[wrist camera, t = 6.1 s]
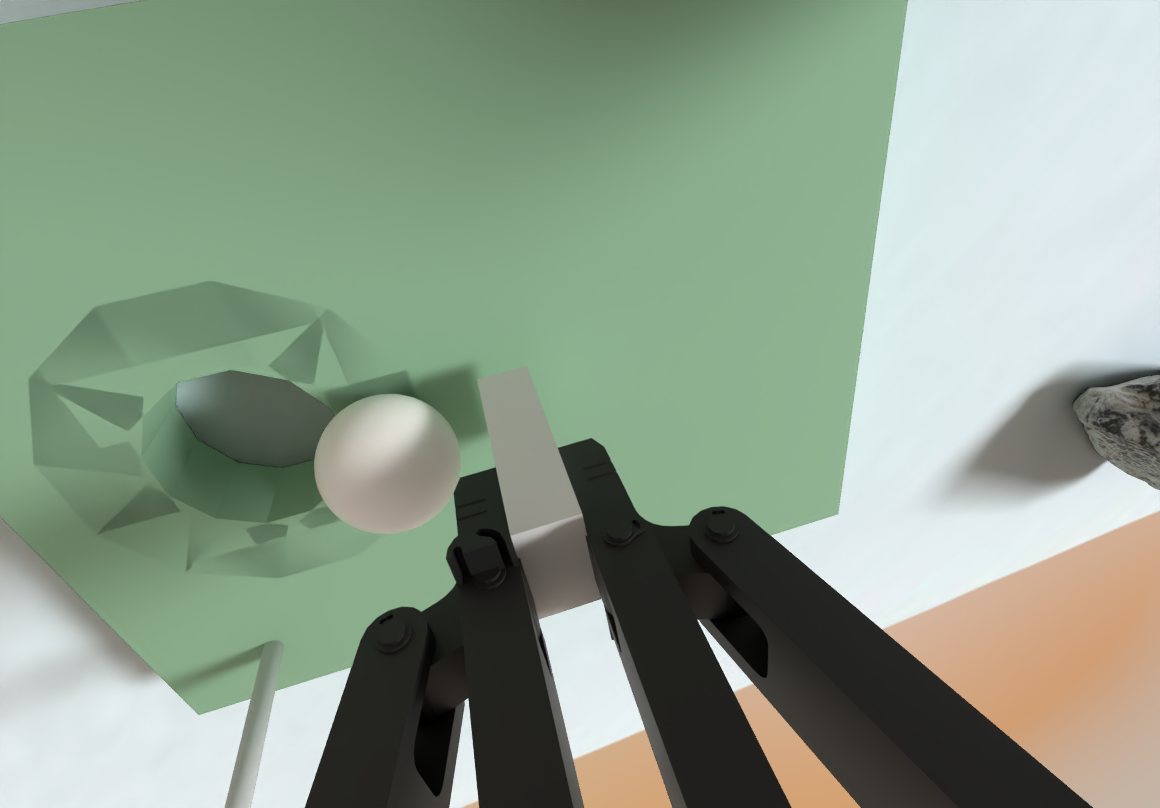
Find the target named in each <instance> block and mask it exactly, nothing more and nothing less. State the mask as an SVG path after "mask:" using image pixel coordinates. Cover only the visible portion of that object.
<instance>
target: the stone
mask: <svg viewBox="0 0 1160 808" xmlns="http://www.w3.org/2000/svg"><path fill="white" fill-rule="evenodd" d="M1073 410H1074V411H1075V412H1076V413H1077V416H1078V418H1079V421H1081V422H1082V423H1083V424H1084V430H1085V431H1086V432H1087V434H1088V435H1089V440H1090V441H1091V442H1092V444H1093V446H1094V448H1095V449H1096V451H1097V452H1098V453H1099V454H1100V455H1101V456H1103V457H1104V458H1105V459H1107V460H1108V461H1109V462H1111V463H1112V464H1113V465H1114V466H1116V467H1118V468H1119V469H1121V470H1122V471H1124V472H1125V473H1127V474H1129V475H1131V476H1134V477H1136V478H1138V479H1141V480H1143V481H1145V482H1147V483H1148V484H1149V485H1150V486H1152V487H1153V488H1155V489H1158V490H1160V375H1153V376H1146V377H1141V378H1139V379H1134V380H1131V381H1128V382H1125V383H1121V384H1117V385H1113V386H1109V387H1093V388H1089V389H1087V390H1086V391H1085V392H1084V393H1083V394H1081V395H1080V396H1079V397H1078V398H1077V399H1076V401H1075V402H1074V404H1073Z"/></svg>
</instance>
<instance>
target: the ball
mask: <svg viewBox="0 0 1160 808" xmlns="http://www.w3.org/2000/svg"><path fill="white" fill-rule="evenodd" d="M460 470H461V453H460V448H459V444H458V440H457V438H456V435H455V433H454V431H453V429H452V427H451V426H450V424H449V423H448V422H447V420H446V419H445V418H444V417H443V416H442V415H441V414H440V413H439V412H438V411H437V410H436V409H434V408H433V407H432V406H430V405H428V404H427V403H425V402H423V401H421V400H419V399H416V398H414V397H410V396H405V395H401V394H379V395H374V396H370V397H366V398H363V399H361V400H359V401H356V402H354V403H352V404H351V405H349V406H347V407H346V408H344V409H343V410H342V411H340V412H339V413H338V414H337V415H336V416H335V417H334V418H333V419H332V420H331V421H330V423H329V424H328V425H327V427H326V428H325V430H324V431H323V433H322V435H321V437H320V440H319V442H318V445H317V448H316V453H315V458H314V472H315V480H316V484H317V487H318V490H319V492H320V495H321V497H322V499H323V500H324V502H325V503H326V505H327V506H328V507H329V509H330V510H331V511H332V512H333V513H334V514H335V515H336V516H337V517H338V518H340V519H341V520H342V521H344V522H345V523H347V524H349V525H351V526H353V527H355V528H356V529H359V530H362V531H366V532H370V533H376V534H395V533H400V532H405V531H409V530H411V529H414V528H417V527H419V526H421V525H423V524H424V523H426V522H428V521H429V520H430V519H432V518H433V517H434V516H436V515H437V514H438V513H439V512H440V511H441V510H442V509H443V508H444V507H445V505H446V504H447V503H448V501H449V500H450V498H451V497H452V495H453V493H454V491H455V488H456V486H457V483H458V480H459V476H460Z"/></svg>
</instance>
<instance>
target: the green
mask: <svg viewBox="0 0 1160 808" xmlns="http://www.w3.org/2000/svg"><path fill="white" fill-rule="evenodd" d="M907 2H908V0H143V1H137V2H131V3H125V4H119V5H113V6H107V7H101V8H95V9H89V10H83V11H77V12H71V13H65V14H59V15H53V16H47V17H41V18H35V19H29V20H23V21H17V22H11V23H5V24H0V517H1V518H2V519H3V520H4V521H5V522H6V523H7V524H8V525H9V526H10V527H11V528H12V529H13V530H14V531H15V532H16V533H17V534H18V535H19V536H20V537H21V538H22V539H23V540H24V541H25V542H26V543H27V544H28V545H29V546H30V547H31V548H32V549H33V550H34V551H35V552H36V553H37V554H38V555H39V556H40V557H41V558H42V559H43V560H44V561H45V562H46V563H47V564H48V565H49V566H50V567H51V568H52V569H53V570H54V571H55V572H56V573H57V574H58V575H59V576H60V577H61V578H62V579H63V580H64V581H65V582H66V583H67V584H68V585H69V586H70V587H71V588H72V589H73V590H74V591H75V592H76V593H77V594H78V595H79V596H80V597H81V598H82V599H83V600H84V601H85V602H86V603H87V604H88V605H89V606H90V607H91V608H92V609H93V610H94V611H95V612H96V613H97V614H98V615H99V616H100V617H101V618H102V619H103V620H104V621H105V622H106V623H107V624H108V625H109V626H110V627H111V628H112V629H113V630H114V631H115V632H116V633H117V634H118V635H119V636H120V637H121V638H122V639H123V640H124V641H125V642H126V643H127V644H128V645H129V646H130V647H131V648H132V649H133V650H134V651H135V652H136V653H137V654H138V655H139V656H140V657H141V658H142V659H143V660H144V661H145V662H146V663H147V664H148V665H149V666H150V667H151V668H152V669H153V670H154V671H155V672H156V673H157V674H158V675H159V676H160V677H161V678H162V679H163V680H164V681H165V682H166V683H167V684H168V685H169V686H170V687H171V688H172V689H173V690H174V691H175V692H176V693H177V694H178V695H179V696H180V697H181V698H182V699H183V700H184V701H185V702H186V703H187V704H188V705H189V706H190V707H191V708H192V709H193V710H194V711H195V712H196V713H197V714H198V715H200V714H204V713H207V712H210V711H213V710H216V709H219V708H223V707H226V706H229V705H232V704H235V703H239V702H242V701H245V700H248V699H251V701H250V705H249V709H248V713H247V717H246V721H245V726H244V730H243V734H242V738H241V742H240V746H239V750H238V755H237V759H236V763H235V767H234V771H233V775H232V780H231V784H230V788H229V792H228V796H227V800H226V804H225V808H251V804H252V799H253V794H254V789H255V785H256V780H257V775H258V770H259V765H260V760H261V756H262V751H263V746H264V741H265V736H266V731H267V727H268V722H269V717H270V712H271V707H272V702H273V698H274V693H275V691H277V690H280V689H283V688H286V687H290V686H293V685H296V684H299V683H302V682H305V681H309V680H312V679H315V678H318V677H321V676H325V675H328V674H331V673H334V672H337V671H340V670H344V669H347V668H350V667H352V664H353V661H354V658H355V655H356V652H357V649H358V646H359V643H360V640H361V638H362V636H363V634H364V633H365V631H366V629H367V627H368V626H369V625H370V624H371V623H372V622H373V621H374V620H375V619H376V618H377V617H379V616H380V615H382V614H384V613H385V612H387V611H389V610H391V609H395V608H398V607H414V608H416V609H418V610H419V611H421V612H422V611H424V610H425V609H427V608H428V607H430V606H432V605H433V604H435V603H436V602H438V601H439V600H441V599H442V598H443V597H445V596H446V595H447V594H448V593H449V592H450V591H451V590H452V589H453V587H454V586H455V584H456V581H455V579H454V576H453V574H452V572H451V570H450V567H449V565H448V563H447V560H446V554H447V549H448V547H449V546H450V544H451V542H452V541H453V539H454V538H456V537H457V536H458V531H457V520H456V512H455V510H456V509H455V503H454V493H453V495H452V497H451V498H450V500H449V501H448V503H447V504H446V505H445V507H444V508H443V509H442V510H441V511H440V512H439V513H438V514H437V515H436V516H434V517H433V518H432V519H430V520H429V521H428V522H426V523H424V524H423V525H421V526H419V527H417V528H414V529H411V530H409V531H405V532H400V533H395V534H376V533H370V532H366V531H362V530H359V529H356V528H355V527H353V526H351V525H349V524H347V523H345V522H344V521H342V520H341V519H340V518H338V517H337V516H336V515H335V514H334V513H333V512H332V511H331V510H330V509H329V507H328V506H327V505H326V503H325V502H324V500H323V499H322V497H321V495H320V492H319V490H318V487H317V484H316V480H315V472H314V460H311V461H307V462H303V463H300V464H296V465H292V466H289V467H285V468H278V467H270V466H262V465H254V464H246V463H238V462H236V461H234V460H233V459H231V458H229V457H227V456H225V455H224V454H222V453H220V452H218V451H216V450H215V449H213V448H211V447H209V446H208V445H206V444H204V443H202V442H200V441H199V440H198V439H197V438H196V436H195V435H194V433H193V432H192V430H191V429H190V427H189V426H188V424H187V423H186V421H185V419H184V418H183V416H182V415H181V413H180V412H179V410H178V409H177V407H176V406H175V404H176V389H177V383H179V382H183V381H187V380H192V379H196V378H200V377H204V376H208V375H212V374H216V373H220V372H224V371H228V370H234V371H240V372H245V373H251V374H257V375H262V376H268V377H273V378H279V379H284V380H289V381H290V382H292V383H293V384H295V385H296V386H298V387H299V388H301V389H302V390H304V391H305V392H307V393H308V394H310V395H311V396H313V397H314V398H316V399H317V400H318V401H320V402H321V403H323V404H324V405H326V406H327V407H329V408H330V409H332V411H333V413H334V415H335V416H336V415H337V414H338V413H339V412H340V411H342V410H343V409H344V408H346V407H347V406H349V405H351V404H352V403H354V402H356V401H359V400H361V399H363V398H366V397H370V396H374V395H379V394H401V395H405V396H410V397H414V398H416V399H419V400H421V401H423V402H425V403H427V404H428V405H430V406H432V407H433V408H434V409H436V410H437V411H438V412H439V413H440V414H441V415H442V416H443V417H444V418H445V419H446V420H447V422H448V423H449V424H450V426H451V427H452V429H453V431H454V433H455V435H456V438H457V440H458V444H459V448H460V453H461V470H460V476H459V479H460V477H464V476H467V475H471V474H474V473H478V472H481V471H484V470H488V469H491V468H495V467H496V466H495V461H494V456H493V452H492V447H491V442H490V437H489V433H488V428H487V423H486V419H485V414H484V409H483V404H482V400H481V395H480V390H479V386H478V381H477V379H480V378H484V377H487V376H491V375H495V374H498V373H502V372H506V371H509V370H513V369H517V368H520V367H524V366H527V368H528V371H529V374H530V376H531V379H532V382H533V384H534V387H535V389H536V392H537V395H538V397H539V400H540V403H541V405H542V408H543V411H544V413H545V416H546V419H547V421H548V424H549V427H550V429H551V432H552V435H553V437H554V440H555V443H556V445H557V448H559V447H562V446H565V445H569V444H572V443H576V442H579V441H582V440H586V439H589V438H592V439H594V440H595V441H597V442H598V443H600V444H601V445H602V446H604V447H605V449H606V451H607V453H608V455H609V457H610V459H611V462H612V463H613V465H614V467H615V469H616V472H617V473H618V475H619V477H620V479H621V481H622V483H623V485H624V487H625V489H626V491H627V493H628V495H629V497H630V499H631V501H632V503H633V506H634V508H635V509H636V511H637V512H638V514H639V515H640V516H641V517H643V518H644V519H645V520H647V521H649V522H651V523H653V524H657V525H662V526H685V525H689V524H690V522H691V520H692V518H693V517H694V516H695V515H696V514H697V513H699V512H700V511H701V510H704V509H707V508H710V507H718V506H725V507H730V508H734V509H737V510H739V511H740V512H742V513H744V514H745V515H747V516H748V517H749V518H750V519H752V520H753V521H754V522H755V523H756V524H757V525H759V526H760V527H761V528H762V529H763V530H765V531H766V532H767V533H768V534H769V535H773V534H777V533H780V532H783V531H786V530H789V529H792V528H796V527H799V526H802V525H805V524H808V523H812V522H815V521H818V520H821V519H824V518H827V517H831V516H834V515H837V514H838V511H839V504H840V496H841V489H842V482H843V474H844V467H845V460H846V452H847V445H848V437H849V430H850V423H851V415H852V408H853V401H854V393H855V386H856V378H857V371H858V364H859V356H860V349H861V342H862V334H863V327H864V319H865V312H866V305H867V297H868V290H869V283H870V275H871V268H872V260H873V253H874V246H875V238H876V231H877V224H878V216H879V209H880V201H881V194H882V187H883V179H884V172H885V165H886V157H887V150H888V142H889V135H890V128H891V120H892V113H893V106H894V98H895V91H896V83H897V76H898V69H899V61H900V54H901V47H902V39H903V32H904V24H905V17H906V10H907ZM458 481H459V480H458ZM457 484H458V483H457Z"/></svg>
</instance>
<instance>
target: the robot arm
mask: <svg viewBox="0 0 1160 808" xmlns="http://www.w3.org/2000/svg"><path fill="white" fill-rule="evenodd" d="M477 381H478V386H479V390H480V395H481V400H482V404H483V409H484V414H485V419H486V423H487V428H488V433H489V437H490V442H491V447H492V452H493V456H494V461H495V466H496V467H495V468H491V469H488V470H484V471H481V472H478V473H474V474H471V475H467V476H464V477H460V479H459V481H458V484H457V486H456V488H455V491H454V503H455V509H456V510H455V512H456V520H457V531H458V536H457V537H456V538H454V539H453V541H452V542H451V544H450V546H449V547H448V549H447V554H446V560H447V563H448V565H449V567H450V570H451V572H452V574H453V576H454V579H455V581H456V584H455V586H454V587H453V589H452V590H451V591H450V592H449V593H448V594H447V595H446V596H445V597H443V598H442V599H441V600H439V601H438V602H436V603H435V604H433V605H432V606H430V607H428V608H427V609H425V610H424V611H422V612H421V611H419V610H418V609H416V608H414V607H398V608H395V609H391V610H389V611H387V612H385V613H384V614H382V615H380V616H379V617H377V618H376V619H375V620H374V621H373V622H372V623H371V624H370V625H369V626H368V627H367V629H366V631H365V633H364V634H363V636H362V638H361V640H360V643H359V646H358V649H357V652H356V655H355V658H354V661H353V664H352V667H351V671H350V674H349V677H348V680H347V683H346V686H345V689H344V692H343V695H342V698H341V701H340V704H339V707H338V710H337V713H336V716H335V719H334V722H333V725H332V728H331V731H330V734H329V737H328V740H327V743H326V746H325V749H324V752H323V755H322V758H321V761H320V764H319V767H318V770H317V773H316V776H315V779H314V782H313V785H312V788H311V791H310V794H309V797H308V800H307V803H306V806H305V808H449V805H450V798H451V792H452V785H453V778H454V772H455V765H456V758H457V752H458V745H459V738H460V732H461V725H462V719H463V712H464V705H465V702H464V701H465V700H466V699H468V698H469V708H470V718H471V728H472V738H473V749H474V759H475V769H476V779H477V789H478V800H479V808H584V805H583V800H582V796H581V792H580V788H579V783H578V780H577V775H576V771H575V766H574V762H573V758H572V754H571V750H570V745H569V741H568V737H567V733H566V728H565V724H564V720H563V716H562V711H561V707H560V703H559V699H558V694H557V690H556V686H555V682H554V678H553V673H552V669H551V665H550V661H549V656H548V652H547V648H546V644H545V640H544V637H543V634H542V631H541V628H540V624H539V620H538V619H541V618H544V617H547V616H551V615H554V614H557V613H560V612H563V611H566V610H569V609H572V608H575V607H578V606H581V605H584V604H587V603H590V602H593V601H596V600H599V599H601V598H602V601H603V603H604V607H605V612H606V616H607V620H608V625H609V629H610V634H611V638H612V640H615V643H616V646H617V649H618V652H619V655H620V658H621V661H622V663H623V666H624V669H625V672H626V675H627V678H628V681H629V684H630V686H631V689H632V692H633V695H634V698H635V701H636V704H637V707H638V710H639V712H640V715H641V718H642V721H643V724H644V727H645V730H646V732H647V735H648V738H649V741H650V744H651V747H652V750H653V752H654V756H655V758H656V761H657V764H658V767H659V770H660V773H661V775H662V779H663V782H664V784H665V787H666V790H667V793H668V796H669V799H670V802H671V805H672V808H791V806H790V804H789V802H788V800H787V798H786V796H785V794H784V792H783V790H782V788H781V786H780V784H779V782H778V780H777V778H776V776H775V774H774V772H773V770H772V768H771V766H770V764H769V762H768V760H767V758H766V756H765V754H764V752H763V750H762V748H761V746H760V744H759V742H758V740H757V738H756V736H755V734H754V732H753V730H752V728H751V726H750V724H749V722H748V720H747V718H746V716H745V714H744V712H743V710H742V709H741V706H740V704H739V703H738V700H737V698H736V696H735V694H734V692H733V690H732V688H731V686H730V684H729V683H728V681H727V679H726V677H725V675H724V673H723V671H722V669H721V667H720V665H719V663H718V661H717V659H716V657H715V655H714V653H713V651H712V649H711V647H710V645H709V643H708V641H707V639H706V637H705V635H704V633H703V631H702V629H701V627H700V625H699V623H698V621H697V620H700V622H701V623H702V625H703V626H704V627H705V628H706V629H707V630H708V631H709V633H710V634H711V635H712V636H713V637H714V638H715V640H716V641H717V642H718V643H719V644H720V645H721V646H722V648H723V649H724V650H725V651H726V652H727V653H728V655H729V656H730V657H731V658H732V659H733V660H734V661H735V663H736V664H737V665H738V666H739V667H740V668H741V670H742V671H743V672H744V673H745V674H746V675H747V677H748V678H749V679H750V680H751V681H752V682H753V683H754V685H755V686H756V687H757V688H758V689H759V690H760V692H761V693H762V694H763V695H764V696H765V697H766V698H767V699H768V701H769V702H770V703H771V704H772V705H773V707H774V708H775V709H776V710H777V711H778V712H779V713H780V715H781V716H782V717H783V718H784V719H785V720H786V722H787V723H788V724H789V725H790V726H791V727H792V729H793V730H794V731H795V732H796V733H797V734H798V735H799V737H800V738H801V739H802V740H803V741H804V742H805V743H806V745H807V746H808V747H809V748H810V749H811V750H812V752H813V753H814V754H815V755H816V756H817V757H818V759H819V760H820V761H821V762H822V763H823V764H824V765H825V767H826V768H827V769H828V770H829V771H830V772H831V774H832V775H833V776H834V777H835V778H836V779H837V781H838V782H839V783H840V784H841V785H842V786H843V787H844V789H845V790H846V791H847V792H848V793H849V794H850V796H851V797H852V798H853V799H854V800H855V801H856V802H857V804H858V805H859V806H860V807H861V808H1093V807H1092V806H1090V805H1089V804H1088V803H1087V802H1086V801H1084V800H1083V799H1082V798H1081V797H1080V796H1079V795H1077V794H1076V793H1075V792H1074V791H1073V790H1071V789H1070V788H1069V787H1068V786H1067V785H1065V784H1064V783H1063V782H1062V781H1061V780H1060V779H1058V778H1057V777H1056V776H1055V775H1054V774H1052V773H1051V772H1050V771H1049V770H1048V769H1047V768H1045V767H1044V766H1043V765H1042V764H1041V763H1039V762H1038V761H1037V760H1036V759H1035V758H1034V757H1032V756H1031V755H1030V754H1029V753H1027V752H1026V751H1025V750H1024V749H1023V748H1022V747H1020V746H1019V745H1018V744H1017V743H1016V742H1015V741H1013V740H1012V739H1011V738H1010V737H1009V736H1007V735H1006V734H1005V733H1004V732H1003V731H1002V730H1000V729H999V728H998V727H997V726H996V725H994V724H993V723H992V722H991V721H990V720H988V719H987V718H986V717H985V716H984V715H983V714H981V713H980V712H979V711H978V710H977V709H975V708H974V707H973V706H972V705H971V704H969V703H968V702H967V701H966V700H965V699H964V698H962V697H961V696H960V695H959V694H957V693H956V692H955V691H954V690H953V689H952V688H951V687H949V686H948V685H947V684H946V683H944V682H943V681H942V680H941V679H940V678H939V677H938V676H936V675H935V674H934V673H933V672H932V671H930V670H929V669H928V668H927V667H926V666H925V665H923V664H922V663H921V662H920V661H918V660H917V659H916V658H915V657H914V656H913V655H911V654H910V653H909V652H908V651H907V650H905V649H904V648H903V647H902V646H901V645H900V644H898V643H897V642H896V641H895V640H894V639H893V638H891V637H890V636H889V635H888V634H887V633H885V632H884V631H883V630H882V629H881V628H879V627H878V626H877V625H876V624H875V623H874V622H872V621H871V620H870V619H869V618H868V617H866V616H865V615H864V614H863V613H862V612H861V611H859V610H858V609H857V608H856V607H855V606H853V605H852V604H851V603H850V602H849V601H847V600H846V599H845V598H844V597H843V596H842V595H840V594H839V593H838V592H837V591H836V590H834V589H833V588H832V587H831V586H830V585H829V584H827V583H826V582H825V581H824V580H823V579H821V578H820V577H819V576H818V575H817V574H815V573H814V572H813V571H812V570H811V569H810V568H808V567H807V566H806V565H805V564H804V563H802V562H801V561H800V560H799V559H798V558H797V557H795V556H794V555H793V554H792V553H791V552H789V551H788V550H787V549H786V548H785V547H784V546H782V545H781V544H780V543H779V542H778V541H776V540H775V539H774V538H773V537H772V536H770V535H769V534H768V533H767V532H766V531H765V530H763V529H762V528H761V527H760V526H759V525H757V524H756V523H755V522H754V521H753V520H752V519H750V518H749V517H748V516H747V515H745V514H744V513H742V512H740V511H739V510H737V509H734V508H730V507H725V506H718V507H710V508H707V509H704V510H701V511H700V512H699V513H697V514H696V515H695V516H694V517H693V518H692V520H691V522H690V524H689V525H685V526H662V525H657V524H653V523H651V522H649V521H647V520H645V519H644V518H643V517H641V516H640V515H639V514H638V512H637V511H636V509H635V508H634V506H633V503H632V501H631V499H630V497H629V495H628V493H627V491H626V489H625V487H624V485H623V483H622V481H621V479H620V477H619V475H618V473H617V472H616V469H615V467H614V465H613V463H612V462H611V459H610V457H609V455H608V453H607V451H606V449H605V447H604V446H602V445H601V444H600V443H598V442H597V441H595V440H594V439H592V438H589V439H586V440H582V441H579V442H576V443H572V444H569V445H565V446H562V447H559V448H557V445H556V443H555V440H554V437H553V435H552V432H551V429H550V427H549V424H548V421H547V419H546V416H545V413H544V411H543V408H542V405H541V403H540V400H539V397H538V395H537V392H536V389H535V387H534V384H533V382H532V379H531V376H530V374H529V371H528V368H527V366H524V367H520V368H517V369H513V370H509V371H506V372H502V373H498V374H495V375H491V376H487V377H484V378H480V379H477Z"/></svg>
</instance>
